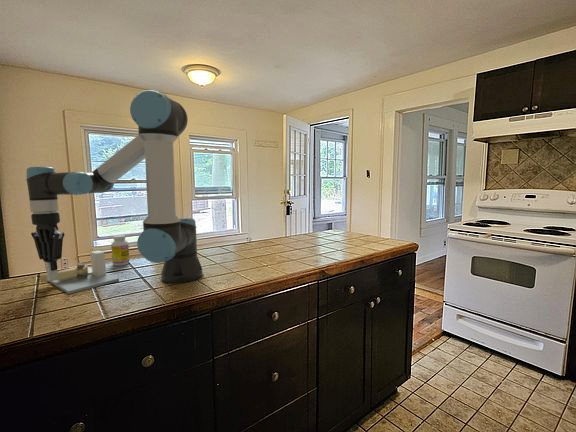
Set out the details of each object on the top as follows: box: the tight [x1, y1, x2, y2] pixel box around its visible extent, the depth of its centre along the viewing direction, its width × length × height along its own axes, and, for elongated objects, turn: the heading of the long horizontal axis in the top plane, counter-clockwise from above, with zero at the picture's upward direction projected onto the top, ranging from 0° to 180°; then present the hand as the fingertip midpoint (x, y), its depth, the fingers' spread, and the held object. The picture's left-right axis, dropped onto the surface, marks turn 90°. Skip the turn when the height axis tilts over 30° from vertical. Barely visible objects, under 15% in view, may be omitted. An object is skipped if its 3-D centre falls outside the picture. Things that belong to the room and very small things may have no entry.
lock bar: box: [39, 265, 89, 284], centre depth 109 cm, size 14×4×3 cm, turn 130°
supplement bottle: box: [111, 234, 130, 267], centre depth 134 cm, size 7×7×13 cm
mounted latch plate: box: [48, 250, 120, 295], centre depth 113 cm, size 26×16×10 cm, turn 53°
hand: (52, 279), depth 105 cm, fingers closed
